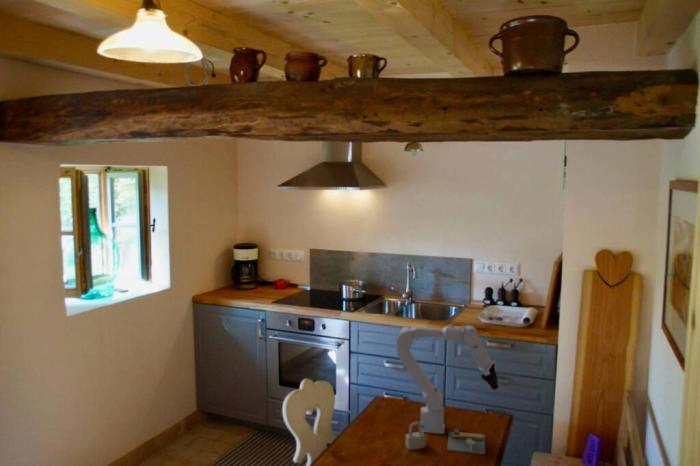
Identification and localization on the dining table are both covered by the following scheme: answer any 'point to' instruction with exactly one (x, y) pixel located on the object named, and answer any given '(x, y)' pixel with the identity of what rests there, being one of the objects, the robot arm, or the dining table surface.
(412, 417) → the dining table surface
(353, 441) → the dining table surface
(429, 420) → the robot arm
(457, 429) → the pin cap
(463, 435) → the brass link
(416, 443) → the grey padlock
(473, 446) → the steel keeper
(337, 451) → the dining table surface
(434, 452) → the dining table surface
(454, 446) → the slate board
